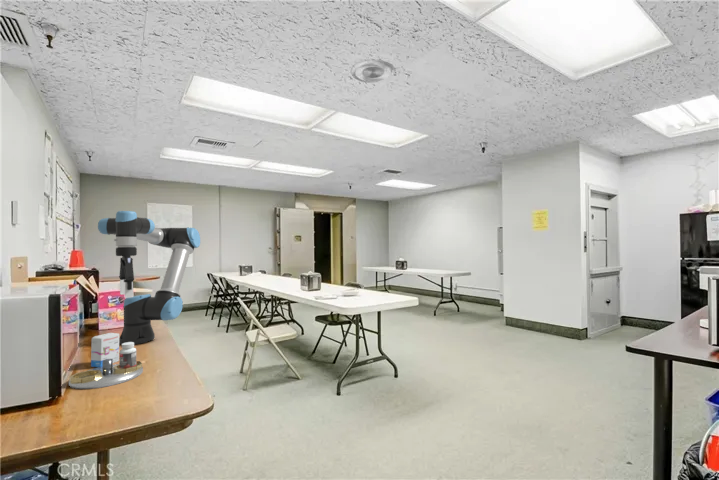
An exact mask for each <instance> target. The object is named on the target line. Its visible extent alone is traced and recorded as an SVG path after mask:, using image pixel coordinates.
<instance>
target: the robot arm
mask: <svg viewBox="0 0 719 480" xmlns="http://www.w3.org/2000/svg"><path fill="white" fill-rule="evenodd" d="M97 230H98V232H99V233H100V234H102V235H109V236H110V235H115V238H114V239H113V242H115V246H116V248H115V256H116V257H120V259H119V260H120V261H119V262H120V263H119V276H118V277H119V294H120V295H121V296H122V295H123V296H124V297H125V298H124V300H123V305H122V306H123V307H122V308H123V328H122V330H121V331H122V332H121V334H120V335H119V345H122V344H123V343H126V342H134V345H139V344H140V345H141V344H145V342H146V343H148V342H147V341H149V342H151V341H150V340H152V341H154V340H155V339H156V337H155V335H156V334H155V332H154V328H153V326H152V323H151V321H171V320H172V321H173V320H175V319H176V318H178V317H179V316H180V315H181V312H182V310H183V307H184V306H183V305H184V304H183V302H184V301H183V299H182V297H181V294H180V293H179V292H180V288H181V284H182V281H183V278H184V275H185V271H186V268H187V263H188V261H189V257H190V255H191V254H193V253H194V250H195V249H197V248H199V247H200V245H201V236H200V235H201V234H200V233H199V231H198V229H196V228H195V227H164V228H163V227H156V225H155V223H154V221H153V219H150V218H147V217H138V213H137V212H136V211H134V210H133V211H132V210H118V211H116V213H115V217H106V218H101V219H99V221H98V224H97ZM137 240H138V241H144V242H148V243H149V244H150V245H154V246H158V247H162V248H167V249H171V250H172V252H171V256H170V257H169V258H170V259H169V261H168V263H167V264H168V265H167V268H166V271H165V274H164V277H163V280H162V284H161V285H160V286H161V287H160V289H158V290H156V291H155V295H154V296H152V295H151V293H146V294H140V295H139V294H138V295H134V281H135V275H134V274H135V273H134V264H133V261H134V258H132V257H135V256H137V255H138V254H137V253H138V252H137V250H138V249H137V246H138V241H137ZM154 338H155V339H154ZM153 339H154V340H153Z"/></svg>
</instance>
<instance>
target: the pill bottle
mask: <svg viewBox="0 0 719 480" xmlns="http://www.w3.org/2000/svg"><path fill="white" fill-rule="evenodd" d="M136 361H137V348H136V347H135V344H134V342H126V343H123V344H121V349H119V361H118V362H119V363H118V364H119V368H129V367H134V366H136Z"/></svg>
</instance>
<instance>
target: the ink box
mask: <svg viewBox="0 0 719 480" xmlns="http://www.w3.org/2000/svg"><path fill="white" fill-rule="evenodd" d="M90 343H91V346H90V347H91V350H90V354H91V355H90V367H92V368H98V367H103V360H105V359H113V364H115V363H117V362H120V360H119V357H120V356H119V353H120V333H116V332H107V333H104V334H98V335H95V336H93V337H91V342H90Z"/></svg>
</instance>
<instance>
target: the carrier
mask: <svg viewBox="0 0 719 480" xmlns="http://www.w3.org/2000/svg"><path fill="white" fill-rule="evenodd" d="M143 372H144V368H143V363H142V361H140V360H139V361H137V360H136V366H134V367H129V368H119V363H118V364H117V363H113V359H105V360H103V367H93V368H91V369H88V370H85V371H81V372H76V373H74V374H72V375H70V376H69V379H68V387H69V386H70V387H69V388H71V389H74V388H75V389H74V390H93V389H94V390H95V389H102V388H107V387H112V386H116V385H120V384H123V383H126V382H129V381H132V380H134V379H136V378H138V377H139V376H140V375H142V374H143Z"/></svg>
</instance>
